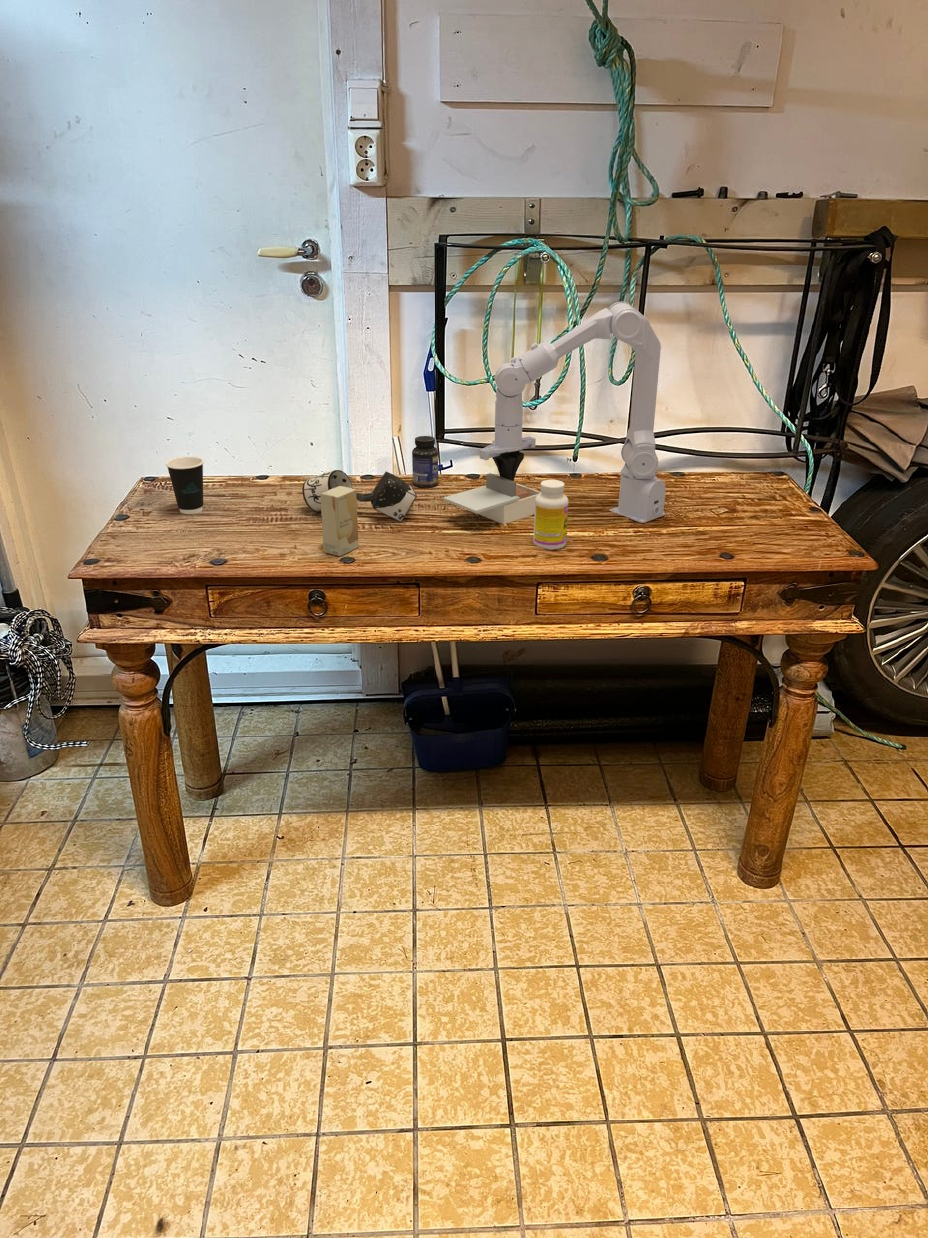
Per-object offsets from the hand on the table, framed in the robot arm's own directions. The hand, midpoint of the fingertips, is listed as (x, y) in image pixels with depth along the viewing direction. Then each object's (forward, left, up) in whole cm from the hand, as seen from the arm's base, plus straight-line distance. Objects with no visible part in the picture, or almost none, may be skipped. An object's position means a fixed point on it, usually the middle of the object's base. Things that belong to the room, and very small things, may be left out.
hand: (507, 485), depth 203 cm
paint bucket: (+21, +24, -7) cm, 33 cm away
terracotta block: (0, -2, -6) cm, 6 cm away
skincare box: (+7, +39, -7) cm, 40 cm away
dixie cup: (+47, +51, -7) cm, 69 cm away
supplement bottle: (-18, +5, -7) cm, 20 cm away
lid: (0, +7, -1) cm, 8 cm away
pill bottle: (+27, +1, -7) cm, 28 cm away
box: (0, 0, -6) cm, 6 cm away
